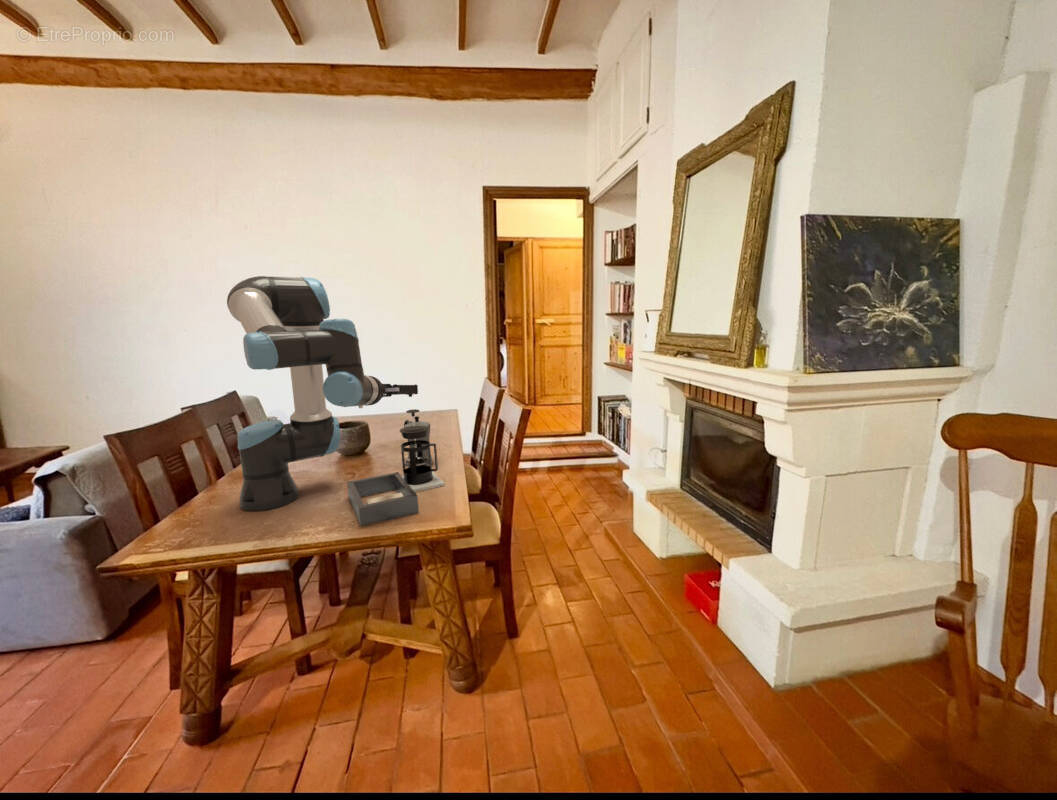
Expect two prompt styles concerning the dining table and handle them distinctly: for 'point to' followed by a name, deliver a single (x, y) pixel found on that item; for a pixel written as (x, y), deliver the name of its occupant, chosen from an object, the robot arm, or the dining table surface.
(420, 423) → the coffeepot
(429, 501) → the dining table surface
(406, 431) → the french press
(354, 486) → the open box
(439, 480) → the mat
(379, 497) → the offcut stack
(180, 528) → the dining table surface
